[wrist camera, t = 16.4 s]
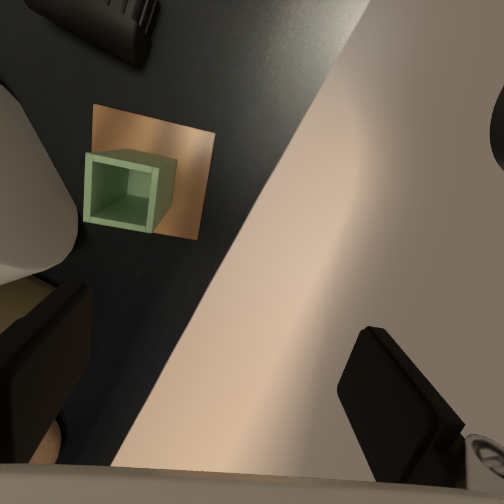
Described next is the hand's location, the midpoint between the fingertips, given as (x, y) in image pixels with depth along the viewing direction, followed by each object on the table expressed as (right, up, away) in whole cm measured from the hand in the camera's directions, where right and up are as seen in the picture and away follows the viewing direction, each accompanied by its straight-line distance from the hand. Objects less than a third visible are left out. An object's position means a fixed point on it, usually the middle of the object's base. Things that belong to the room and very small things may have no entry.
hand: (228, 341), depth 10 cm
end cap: (-14, +28, +21) cm, 38 cm away
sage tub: (-12, +12, +27) cm, 32 cm away
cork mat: (-12, +12, +27) cm, 32 cm away
